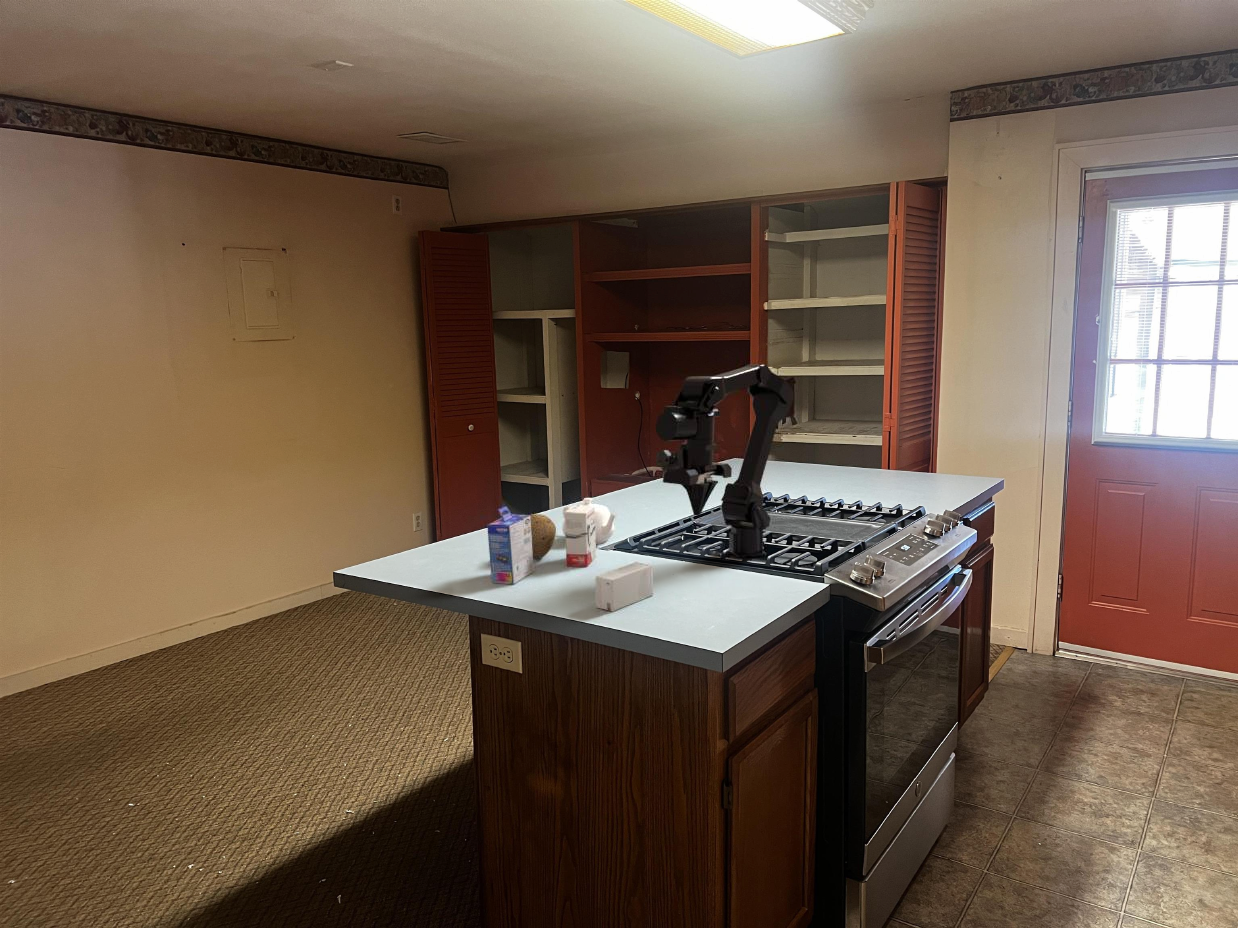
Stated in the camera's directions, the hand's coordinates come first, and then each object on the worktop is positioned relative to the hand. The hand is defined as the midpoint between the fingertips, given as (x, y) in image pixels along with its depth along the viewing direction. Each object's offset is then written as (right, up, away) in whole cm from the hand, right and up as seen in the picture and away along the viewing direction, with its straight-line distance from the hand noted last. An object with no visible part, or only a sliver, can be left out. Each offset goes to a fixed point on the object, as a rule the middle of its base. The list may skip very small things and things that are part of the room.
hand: (696, 514), depth 179 cm
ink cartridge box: (-38, -13, 0) cm, 40 cm away
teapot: (-23, -8, +29) cm, 38 cm away
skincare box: (-11, -11, -14) cm, 21 cm away
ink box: (-24, -11, +10) cm, 28 cm away
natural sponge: (-34, -11, +14) cm, 39 cm away
